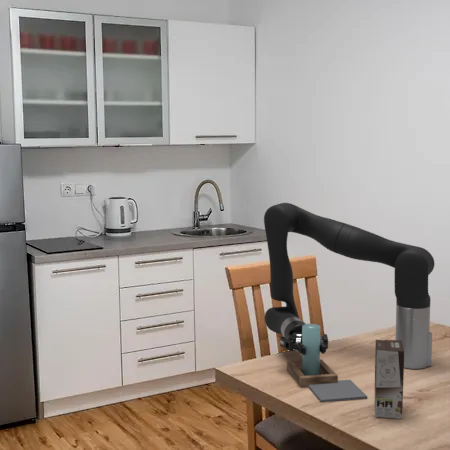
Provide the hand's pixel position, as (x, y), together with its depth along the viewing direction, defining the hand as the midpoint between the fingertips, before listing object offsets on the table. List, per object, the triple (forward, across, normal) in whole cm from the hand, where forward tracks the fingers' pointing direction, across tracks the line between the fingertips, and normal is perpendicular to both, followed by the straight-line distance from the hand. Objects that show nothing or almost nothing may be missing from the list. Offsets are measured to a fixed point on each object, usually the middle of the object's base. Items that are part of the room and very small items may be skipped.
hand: (314, 350), depth 182 cm
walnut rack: (-3, 0, +8) cm, 8 cm away
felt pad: (+9, +3, +8) cm, 13 cm away
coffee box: (+23, +11, +8) cm, 27 cm away
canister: (-3, 0, +8) cm, 8 cm away
